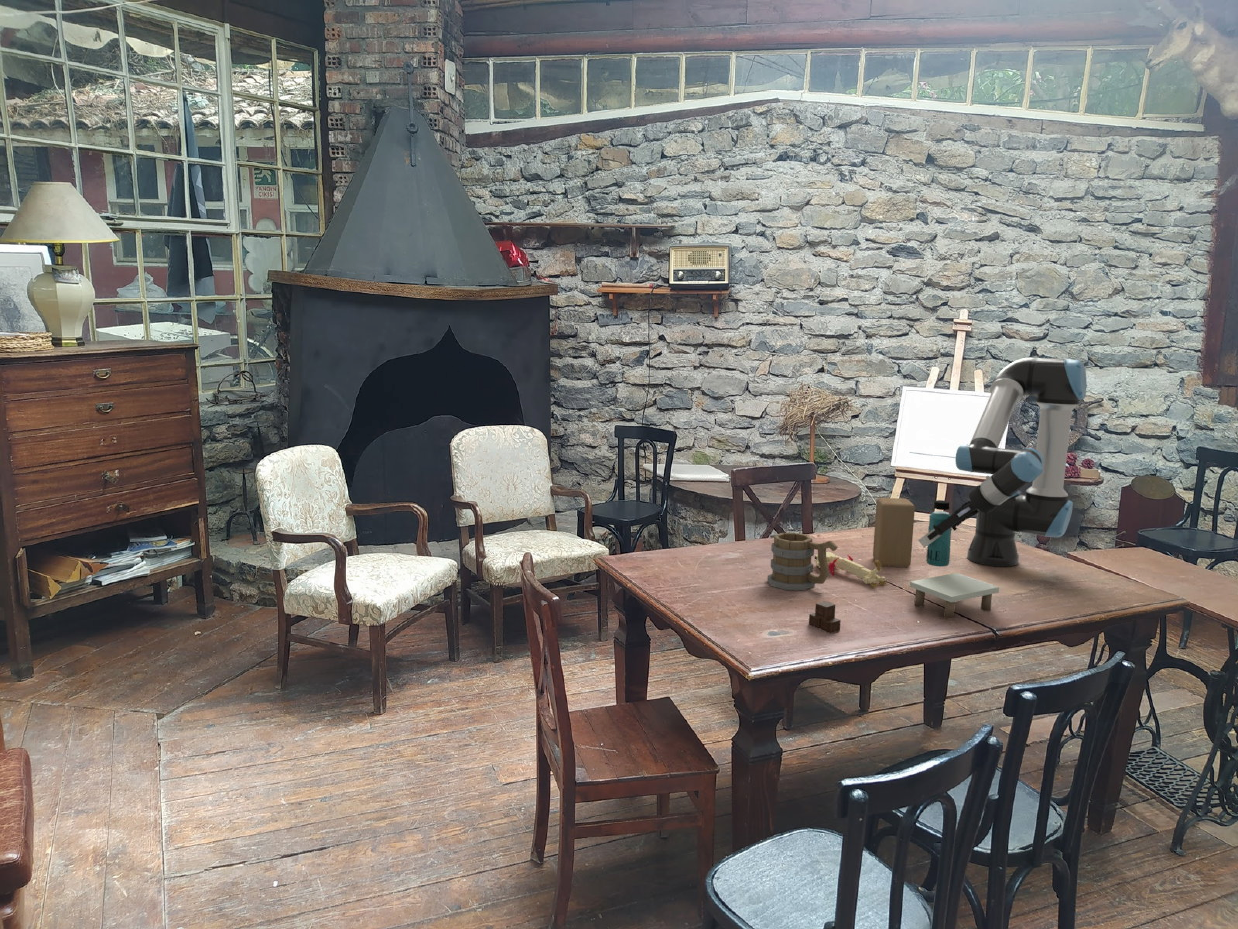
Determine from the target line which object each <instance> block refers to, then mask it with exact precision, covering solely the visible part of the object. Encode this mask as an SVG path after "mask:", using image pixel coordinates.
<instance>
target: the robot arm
mask: <svg viewBox="0 0 1238 929" xmlns="http://www.w3.org/2000/svg"><path fill="white" fill-rule="evenodd" d="M1087 382H1088V381H1087V372H1086V367H1085V364H1084V363H1083V362H1082V361H1081V360H1078V359H1072V358H1071V359H1070V358H1053V357H1052V358H1048V357H1034V356H1033V357H1030V356H1029V357H1022V358H1020V359H1017V360H1015V361H1013V362H1011V363H1009V364H1007V365H1006V366H1005V367H1004V368H1002V369H1001V370H1000V371H999V372H998V373H997V375H996V376H995V377H994V378H993V380H992V382H991V384H990V388H989V393H990V396H989V398H988V399H987V402H986V405H985V407H984V410H983V412H982V415H981V416H980V419H979V421H978V424H977V426H976V428H975V431H974V433H973V435H972V438H971V440H970V442H969V444H968V443H967V444H960V445H959V446H958V447H957V450H956V453H955V466H956V468H957V469H958V470H959V471H962V472H968V473H978V474H986V476H985V480H983V481H982V482H981V483H980V484H979V485H977V486H975V487H974V488H972V489H971V490H970V491H969V492H968V498H969V500H968V501H967V502H965V503H963V504H962V505H961V507H959V508H958V509H956V510H955V511H954V513H952V514H950V515H951V516H950V517H948V518H947V519H946V520H944V521H943V522H942V523H940V524H939V525H937V526H935V525H934V526H933V527H934V529H932V530H931V531H930V532H927V533H925V535H923V536H921V538H919V539H918V542H919V543H920V545H921V546H922V547H923V549H924V548H927V547H928V545H929V544H930V543H932V542H933V541H935V540H936V539H937V538H939V537H940V536H941V535H942V534H943V533H944V532H946V531H947V530H948V529H950V528H951V527H952V528H951V531H956V530H958V528H957V527H958V526H960V524H962V523H963V522H965V521H966V520H969V519H970V518H972V517H973V516H976V522H975V530H974V531H975V532H974V536H973V538H972V541H971V543H970V545H969V547H968V549H967V556H966V558H967V559H968V560H969V561H971V562H974V563H977V564H980V565H985V566H990V567H1013V566H1017V565H1018V564H1019V558H1020V557H1019V553H1018V549H1017V544H1016V543H1017V542H1016V539H1015V537H1016V533H1023V534H1030V535H1036V536H1043V537H1045V538H1047V537H1048V538H1049V537H1050V538H1060V537H1062V536H1064V535H1065V533H1066V531H1067V529H1068V527H1069V523H1070V522H1071V517H1072V513H1073V506H1074V503H1073V501H1071V500H1068V498H1069V494H1068V492H1067V491H1066V490H1065V489H1064V484H1065V475H1066V468H1067V466H1066V465H1067V456H1068V449H1069V442H1070V440H1069V439H1070V431H1071V423H1072V413H1073V410H1075V409H1076V408H1077V407H1078V406H1079V402H1080V401H1081V400H1084V399H1085V398H1086V395H1087ZM1023 396H1024V397H1025V396H1029V397H1036V398H1035V403H1036V404H1037V405H1038V407H1039V408H1040V412H1039V419H1038V428H1037V430H1038V431H1037V439H1036V448H1033V447H1026V448H1022V449H1010V448H1009V449H1008V448H1001V447H1000V448H999V446H1000V444H1001V443H1002V442H1001V441H1002V439H1003V437H1004V434H1005V431H1006V429H1007V426H1008V424H1009V422H1010V420H1011V416H1012V414H1013V412H1014V409H1015V407H1016V404H1017V403H1018V402H1020V401H1021V400H1022V399H1023ZM1031 482H1032V485H1031V486H1030V487H1028V488H1027V489H1026V491H1025V495H1024V494H1021V492H1020V490H1022V489H1023V488H1024V487H1026V486H1027V485H1029V484H1030V483H1031Z"/></svg>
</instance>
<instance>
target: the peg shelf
mask: <svg viewBox="0 0 1238 929" xmlns="http://www.w3.org/2000/svg"><path fill="white" fill-rule="evenodd" d="M909 588H912V589H914V590H915V595H914V596H915V598H914V606H915V607H917V608H924V607H925V599H926V598H925V597H926V594H928V595H930V596H933V597H936V598H938V599H941V600H943V601H944V613H943V614H944V615H943V618H945V619H947V620H953V619H954V618H955V610H956V609H955V608H956V602H960V601H965V600H969V599H970V600H971V599H973V598H979V597H981V603H980V610H982V611H985V612H989V611H991V608H992V607H991V606H992V598H993V597H992V596H993V594H998V593H999V592H1000V586H998V585H995V584H991V583H988V582H985V581H983V580H979V579H976V578H974V577H970V576H967V575H965V574H962V573H959V572H953V573H948V574H942V575H938V576H937V575H936V576H933V577H927V578H922V579H916V580H911V581H910V582H909Z"/></svg>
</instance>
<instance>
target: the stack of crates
mask: <svg viewBox="0 0 1238 929" xmlns="http://www.w3.org/2000/svg"><path fill="white" fill-rule="evenodd" d="M814 610H815V611H814V612H812V613H809V618H808V626H810V627H813V628H816V629H818V630H821V631H823V632H826V633H828V634H834V633H836V632H840V631H841V622H842V621H841V619H840V618H838V617H837V618H836V604H835V603H831V601H830V602H829V601H826V600H822V601H820V602H817V603H815V609H814Z"/></svg>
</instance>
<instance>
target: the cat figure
mask: <svg viewBox="0 0 1238 929" xmlns="http://www.w3.org/2000/svg"><path fill="white" fill-rule="evenodd" d="M847 557H848V558H846V557H844V558H843V557H841V556H839V555H837V554H836V553H833V552H831V551H826V559H827V563H828V567H829V572H830V574H831V575H832V576H836V574H835V571H834V570H835V569H839V570H841V571H846V572H847V573H850V574H852V575H854V576H856V577H857V578H859V579H861V580H863V583H864V584H866V585H869V587H871V588H872V589H876V588H877V587H878V585H879V586H881V587H884V586H885V585H887V580H886V577H885V576H880V575H878V574H877V573H880V572H882V569H883V566H881V564H880V562H879V561H878V560H875V559H874V561H873V566H874V567H875V568H874V569H873V570H870V569H869V568H866V567H865V566H864V565H862V564H860V563H857V562H855V561H854V559H853V558H852V556H850V555H849V554H848V555H847ZM813 561H814V562H815V564H816V566H817V567H818V569H821V568H820V564H819V560H818V554H815V555H814V559H813Z"/></svg>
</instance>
